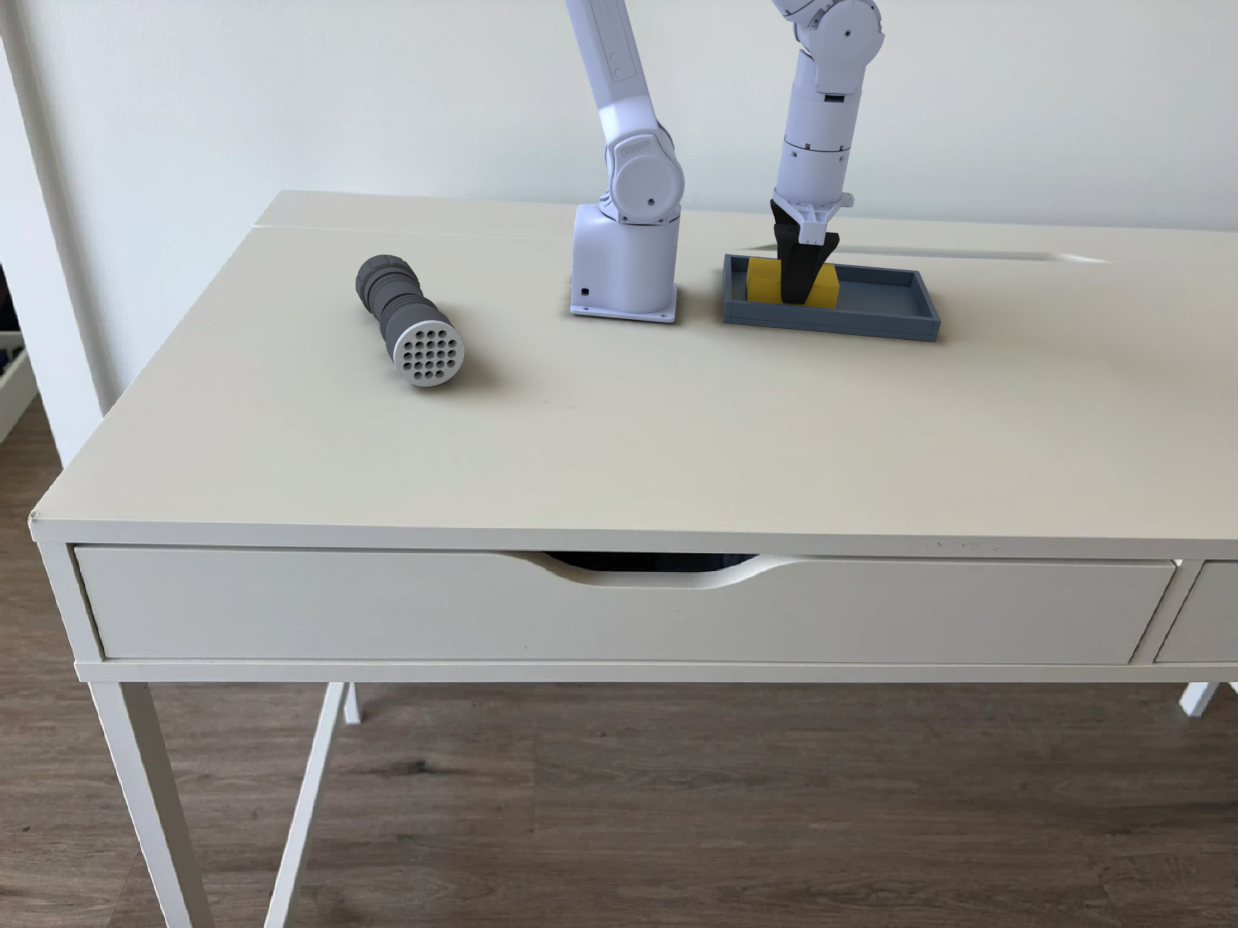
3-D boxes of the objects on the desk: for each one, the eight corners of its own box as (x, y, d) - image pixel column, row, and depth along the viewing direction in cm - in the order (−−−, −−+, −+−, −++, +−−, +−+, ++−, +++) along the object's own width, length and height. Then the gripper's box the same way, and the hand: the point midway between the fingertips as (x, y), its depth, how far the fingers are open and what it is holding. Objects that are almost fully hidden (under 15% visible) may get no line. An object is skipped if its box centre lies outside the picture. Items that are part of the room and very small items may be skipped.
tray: (722, 322, 84) (725, 301, 83) (722, 273, 94) (724, 253, 92) (935, 342, 84) (941, 321, 82) (913, 290, 93) (919, 270, 92)
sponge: (746, 308, 86) (751, 278, 84) (745, 286, 90) (749, 256, 88) (833, 316, 85) (839, 286, 84) (828, 293, 90) (834, 264, 88)
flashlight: (353, 308, 82) (347, 251, 79) (413, 300, 85) (409, 243, 81) (397, 392, 71) (392, 328, 68) (465, 380, 73) (463, 318, 70)
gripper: (876, 172, 73) (842, 328, 81) (854, 122, 85) (826, 262, 93) (786, 165, 73) (761, 320, 81) (776, 116, 85) (755, 256, 93)
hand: (791, 289), depth 87 cm, fingers closed on sponge, 5 cm apart
